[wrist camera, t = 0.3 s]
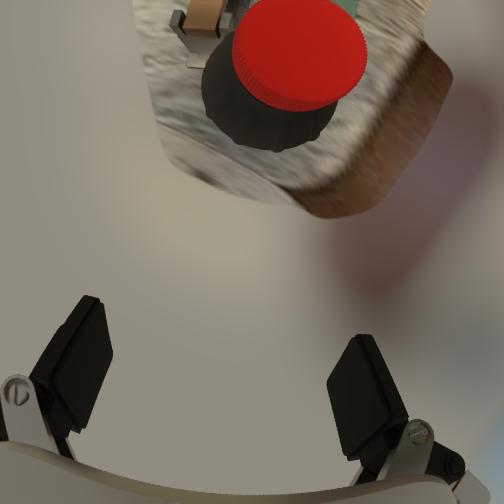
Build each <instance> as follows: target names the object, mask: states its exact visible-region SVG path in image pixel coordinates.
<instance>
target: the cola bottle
mask: <svg viewBox="0 0 504 504" xmlns="http://www.w3.org/2000/svg"><path fill="white" fill-rule="evenodd" d="M359 28H360V27H358V24H357V23H355V21H354V20H353V18H352V17H351V16H350V15H349V14H348V13H347V12H346V11H345V10H344V9H342V8H341V7H339V6H338V4H335V3H334V2H332V1H331V0H261V1H258V3H255V4H254V5H253V6H252V7H251V8H249V10H248V11H247V12H246V13H245V14H244V16H243V17H242V19H241V20H240V22H239V24H238V27H237V29H236V31H232V32H230V33H228V34H227V35H225V36H224V38H223V41H222V42H221V43H220V44H219V45H218V46H217V47H216V48H215V50H214V51H213V52H212V54H211V55H210V57H209V58H208V60H207V62H206V65H205V67H204V71H203V75H202V82H201V90H202V97H203V101H204V105H205V107H206V115H207V117H208V118H209V119H212V120H213V122H214V123H215V124H216V125H217V126H218V128H219V129H220V130H221V131H223V132H224V133H225V134H226V135H227V136H229V137H230V138H232V139H233V141H234V142H235V143H236V144H238V145H246V146H249V147H252V148H256V149H261V150H271V151H273V152H276V153H278V152H281V151H283V150H284V149H289V148H293V147H296V146H299V145H301V144H303V143H306V142H308V141H314V140H316V139H317V138H318V137H319V135H320V132H321V131H322V130H323V129H324V128H325V127H326V125H327V124H328V123H329V121H330V120H331V118H332V116H333V114H334V112H335V109H336V106H337V103H338V100H339V99H340V98H342V97H343V96H345V95H346V94H348V93H349V92H350V91H351V90H352V89H353V88H354V87H355V86H356V85H357V83H358V82H359V80H360V79H361V77H362V76H363V73H364V70H365V66H366V63H367V61H366V60H367V51H366V49H367V48H366V44H365V42H366V41H365V40H364V37H363V34H362V33H361V30H360V29H359Z"/></svg>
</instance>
